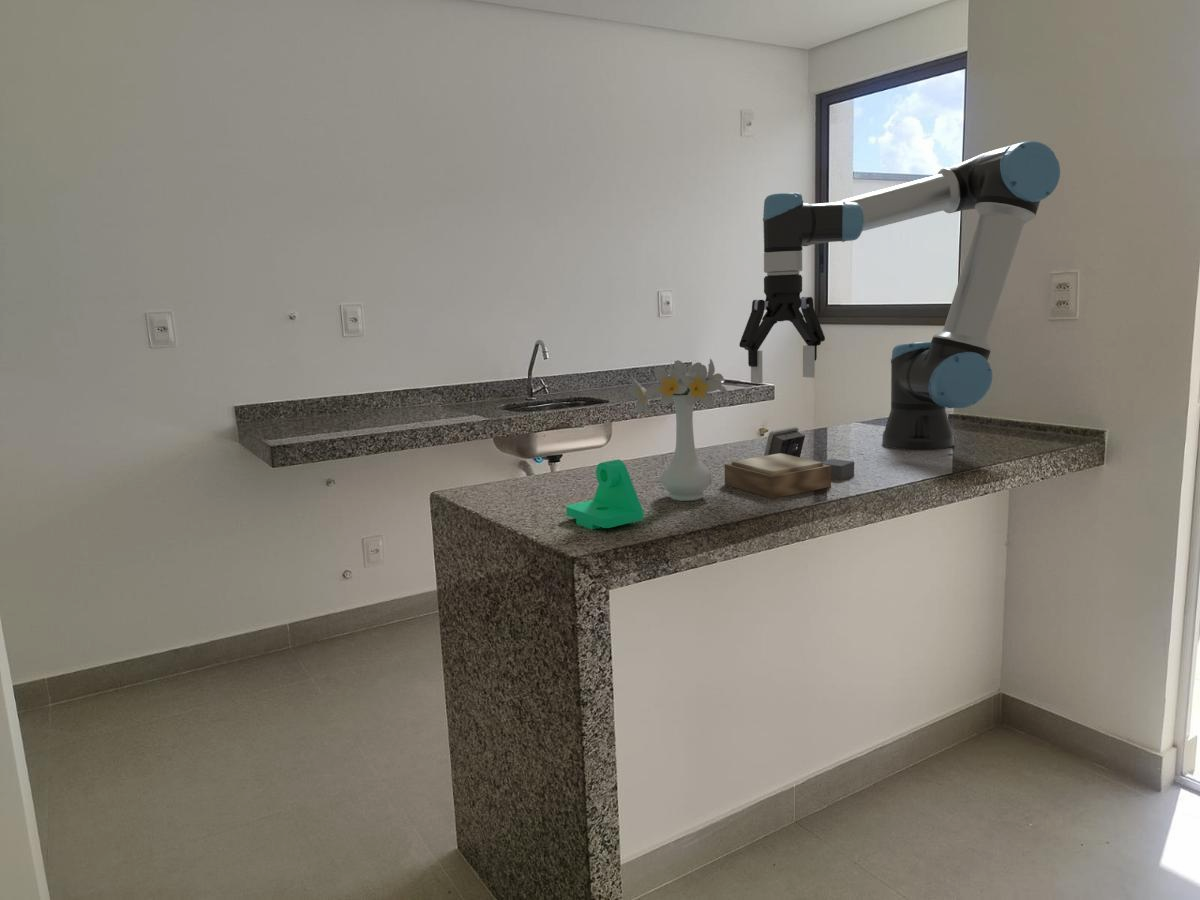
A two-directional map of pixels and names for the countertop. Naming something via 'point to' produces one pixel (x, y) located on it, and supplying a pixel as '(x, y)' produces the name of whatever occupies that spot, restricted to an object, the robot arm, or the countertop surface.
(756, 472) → the wooden box
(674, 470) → the flower vase
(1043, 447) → the countertop surface
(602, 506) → the camera mount
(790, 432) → the electrical switch
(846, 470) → the rubber block
